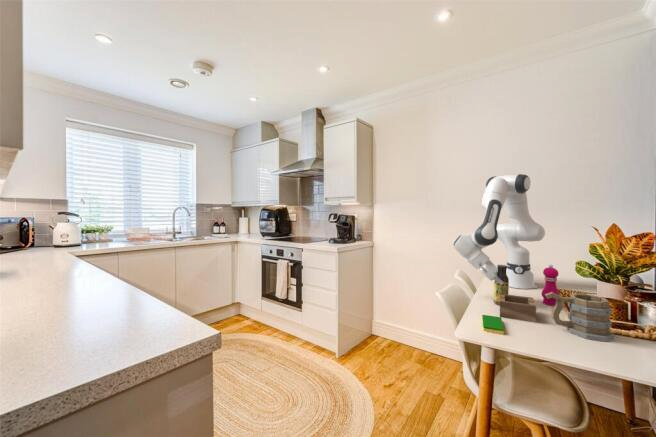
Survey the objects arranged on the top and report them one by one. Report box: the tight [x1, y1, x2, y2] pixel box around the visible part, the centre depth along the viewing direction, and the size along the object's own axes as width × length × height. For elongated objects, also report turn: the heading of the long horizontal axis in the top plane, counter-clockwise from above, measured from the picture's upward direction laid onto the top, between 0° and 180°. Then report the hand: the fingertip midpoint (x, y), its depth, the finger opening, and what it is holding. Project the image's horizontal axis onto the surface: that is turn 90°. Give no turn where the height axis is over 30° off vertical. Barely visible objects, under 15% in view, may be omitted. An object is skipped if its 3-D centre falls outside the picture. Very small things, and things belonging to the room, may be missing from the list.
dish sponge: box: [481, 314, 505, 336], centre depth 114 cm, size 7×14×2 cm, turn 152°
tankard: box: [545, 292, 615, 342], centre depth 107 cm, size 20×13×15 cm, turn 64°
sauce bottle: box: [493, 264, 510, 306], centre depth 139 cm, size 6×6×20 cm
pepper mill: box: [541, 264, 561, 307], centre depth 136 cm, size 7×7×20 cm
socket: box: [499, 294, 537, 324], centre depth 125 cm, size 13×13×7 cm
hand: (502, 281), depth 138 cm, fingers closed on sauce bottle, 6 cm apart
